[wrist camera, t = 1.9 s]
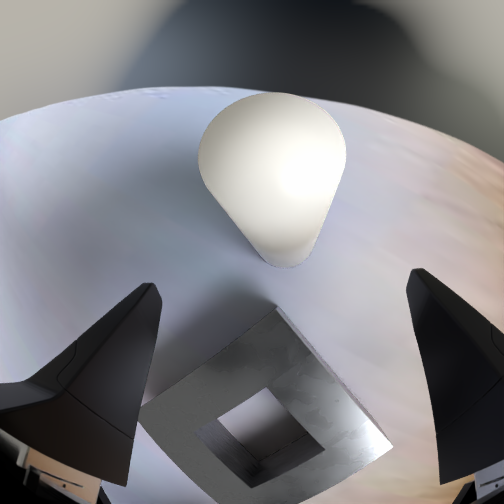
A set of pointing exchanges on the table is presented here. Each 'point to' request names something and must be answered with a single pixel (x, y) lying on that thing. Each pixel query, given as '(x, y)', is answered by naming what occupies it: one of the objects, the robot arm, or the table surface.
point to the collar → (290, 396)
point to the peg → (274, 171)
